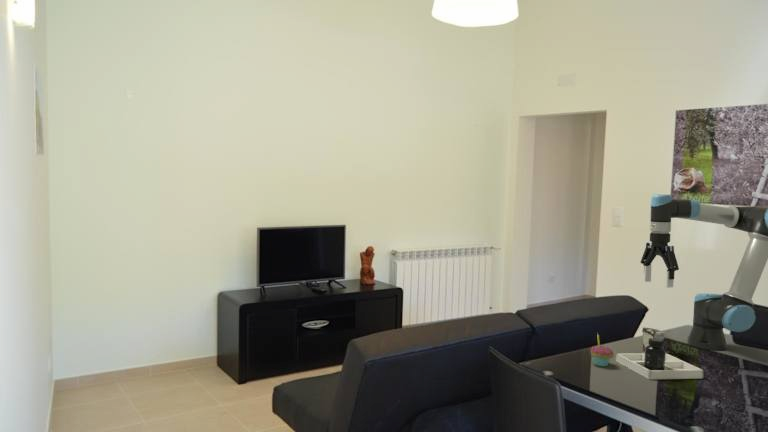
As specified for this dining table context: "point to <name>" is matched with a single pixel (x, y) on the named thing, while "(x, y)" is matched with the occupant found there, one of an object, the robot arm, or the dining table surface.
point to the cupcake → (601, 354)
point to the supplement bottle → (655, 355)
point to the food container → (651, 336)
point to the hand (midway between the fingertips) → (658, 284)
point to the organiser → (672, 370)
